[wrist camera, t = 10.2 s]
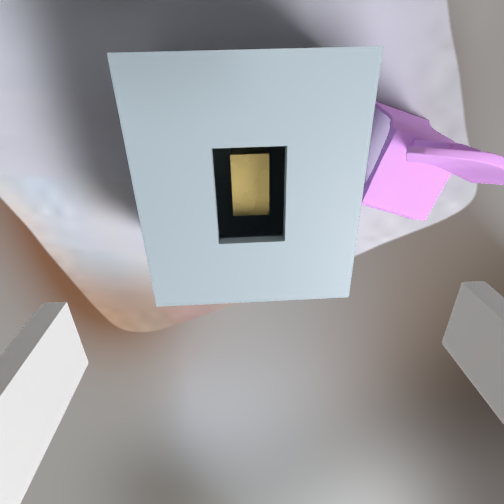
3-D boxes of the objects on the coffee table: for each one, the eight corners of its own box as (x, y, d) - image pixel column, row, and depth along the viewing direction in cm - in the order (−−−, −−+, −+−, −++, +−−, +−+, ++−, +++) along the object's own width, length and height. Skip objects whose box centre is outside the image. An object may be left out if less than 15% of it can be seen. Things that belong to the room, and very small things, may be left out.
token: (230, 137, 33) (230, 154, 26) (261, 136, 33) (269, 153, 26) (233, 187, 35) (233, 215, 28) (261, 185, 35) (269, 214, 28)
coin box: (151, 59, 30) (106, 52, 19) (330, 55, 30) (383, 46, 20) (177, 241, 38) (156, 306, 28) (316, 235, 39) (348, 296, 28)
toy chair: (326, 183, 36) (381, 248, 23) (362, 96, 32) (454, 114, 19) (395, 203, 37) (483, 275, 24) (437, 123, 34) (569, 156, 20)
